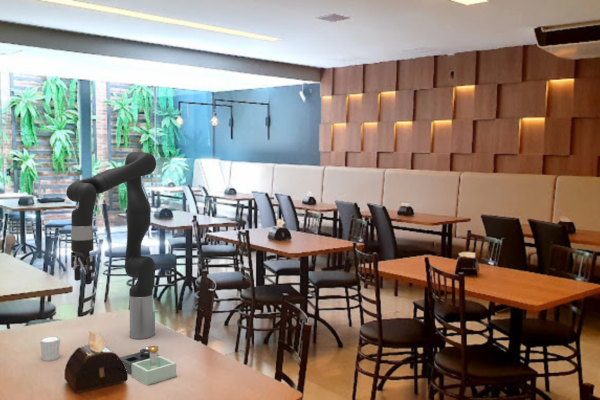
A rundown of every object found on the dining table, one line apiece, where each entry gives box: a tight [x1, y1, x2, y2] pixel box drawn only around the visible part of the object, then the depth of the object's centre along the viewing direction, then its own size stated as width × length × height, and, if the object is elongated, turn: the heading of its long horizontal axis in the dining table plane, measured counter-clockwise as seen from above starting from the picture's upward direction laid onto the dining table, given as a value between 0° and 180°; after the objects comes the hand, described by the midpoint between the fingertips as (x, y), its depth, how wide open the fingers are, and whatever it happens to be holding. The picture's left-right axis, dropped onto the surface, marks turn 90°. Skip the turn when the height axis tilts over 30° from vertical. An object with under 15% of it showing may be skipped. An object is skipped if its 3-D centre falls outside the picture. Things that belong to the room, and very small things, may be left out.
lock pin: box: [148, 345, 160, 369], centre depth 193 cm, size 3×3×9 cm
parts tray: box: [131, 355, 177, 386], centre depth 193 cm, size 11×10×4 cm
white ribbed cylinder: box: [39, 336, 61, 362], centre depth 209 cm, size 7×7×7 cm
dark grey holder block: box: [118, 346, 161, 376], centre depth 202 cm, size 12×9×6 cm
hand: (83, 282), depth 208 cm, fingers open, 8 cm apart
